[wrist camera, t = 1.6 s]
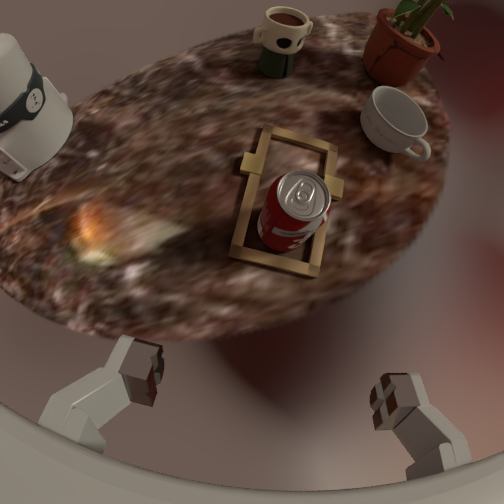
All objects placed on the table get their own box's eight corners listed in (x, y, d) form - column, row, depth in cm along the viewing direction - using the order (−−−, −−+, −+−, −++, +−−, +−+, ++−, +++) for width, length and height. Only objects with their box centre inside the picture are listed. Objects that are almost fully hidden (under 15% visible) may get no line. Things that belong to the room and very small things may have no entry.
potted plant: (416, 90, 50) (497, -15, 16) (379, 109, 47) (475, -27, 13) (362, 40, 52) (417, -70, 18) (318, 52, 49) (370, -86, 15)
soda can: (248, 240, 39) (259, 208, 28) (268, 197, 41) (285, 154, 29) (294, 261, 39) (324, 238, 28) (312, 217, 41) (344, 182, 29)
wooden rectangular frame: (216, 253, 39) (216, 251, 38) (253, 125, 43) (254, 120, 42) (325, 280, 39) (328, 279, 38) (344, 151, 44) (347, 148, 43)
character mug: (257, 88, 45) (267, 31, 32) (239, 64, 46) (245, 10, 34) (309, 76, 47) (328, 25, 34) (289, 53, 48) (303, 3, 35)
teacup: (343, 112, 46) (360, 84, 38) (388, 109, 48) (407, 84, 40) (379, 181, 44) (404, 159, 36) (422, 171, 45) (448, 151, 38)
